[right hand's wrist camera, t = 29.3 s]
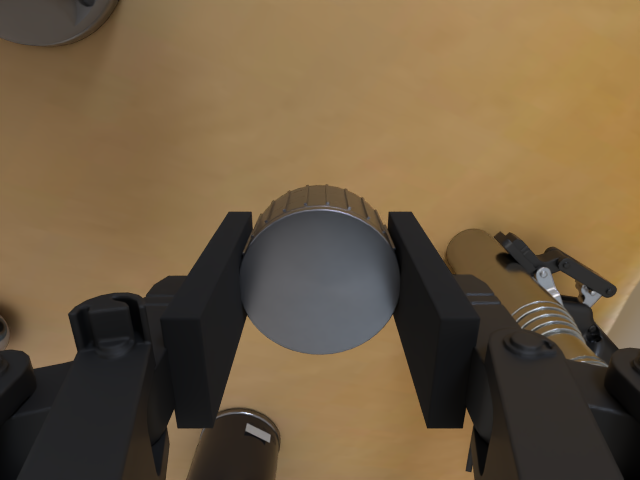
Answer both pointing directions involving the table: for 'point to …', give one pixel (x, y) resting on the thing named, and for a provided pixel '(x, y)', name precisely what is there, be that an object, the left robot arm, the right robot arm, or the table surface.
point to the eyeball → (4, 334)
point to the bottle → (519, 292)
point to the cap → (319, 271)
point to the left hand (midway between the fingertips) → (475, 259)
